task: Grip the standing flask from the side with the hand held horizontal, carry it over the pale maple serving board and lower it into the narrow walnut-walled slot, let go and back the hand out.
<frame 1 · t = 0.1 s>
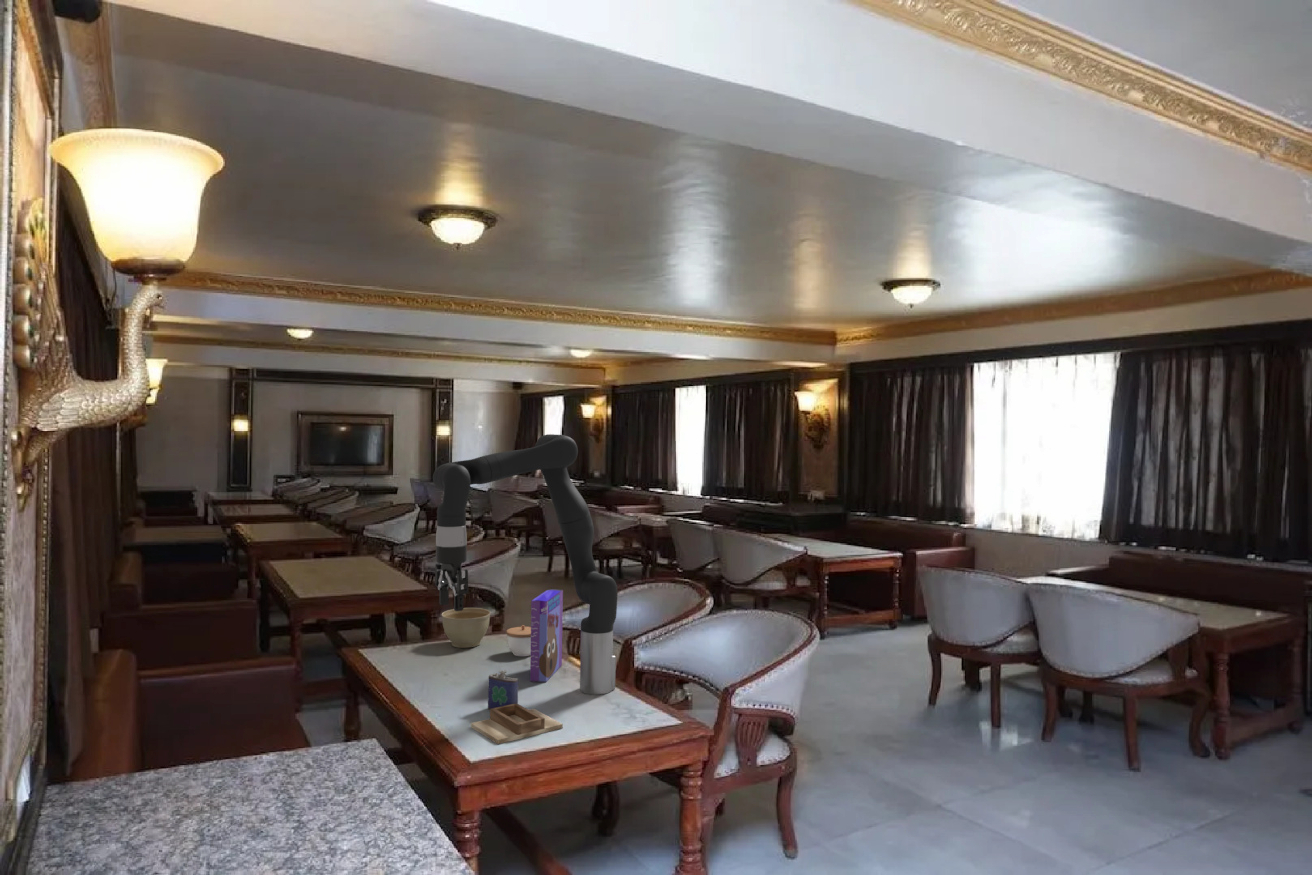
hand: (451, 607, 216), 29 cm above the table, tool pointing down, fingers open, 8 cm apart
cereal box: (546, 674, 260), on the table
slot board: (516, 727, 214), on the table
flask: (502, 711, 226), on the table
planter bowl: (465, 645, 291), on the table
lidded jar: (522, 654, 281), on the table
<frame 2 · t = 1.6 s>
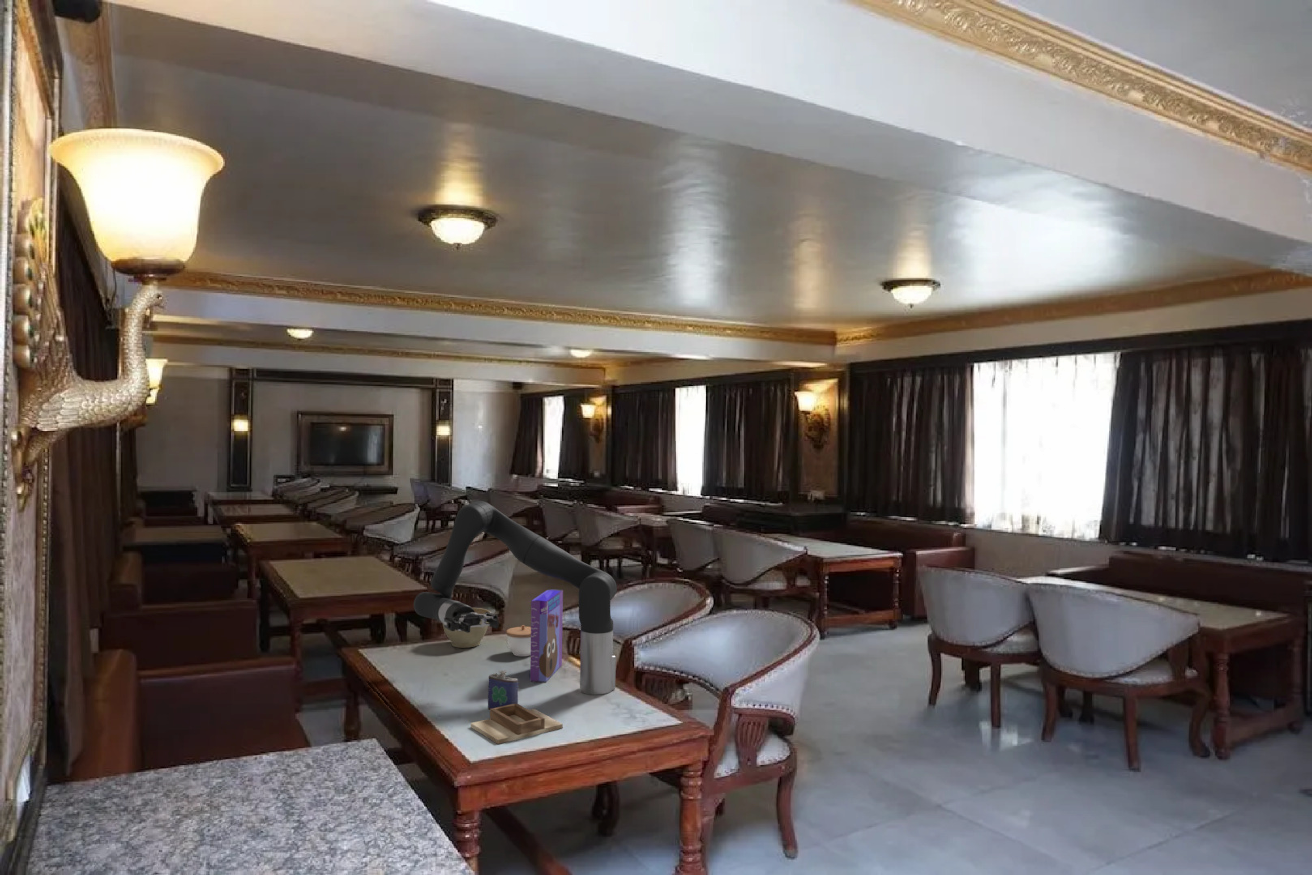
hand: (483, 626, 234), 20 cm above the table, tool horizontal, fingers open, 8 cm apart
nothing on the table moved.
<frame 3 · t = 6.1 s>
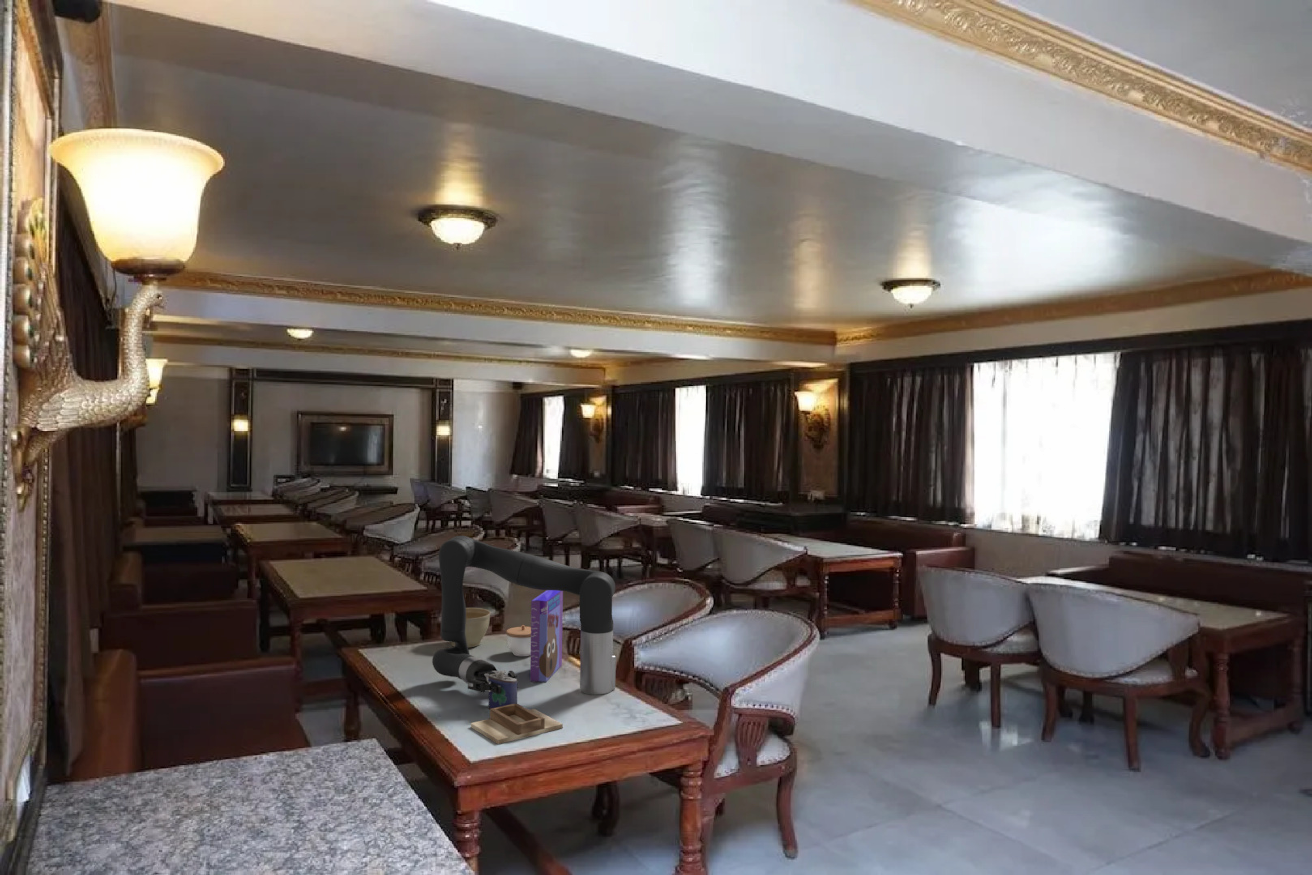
hand: (508, 688, 223), 7 cm above the table, tool horizontal, fingers closed on flask, 4 cm apart
flask: (502, 711, 226), on the table, touching gripper
everything else where it was.
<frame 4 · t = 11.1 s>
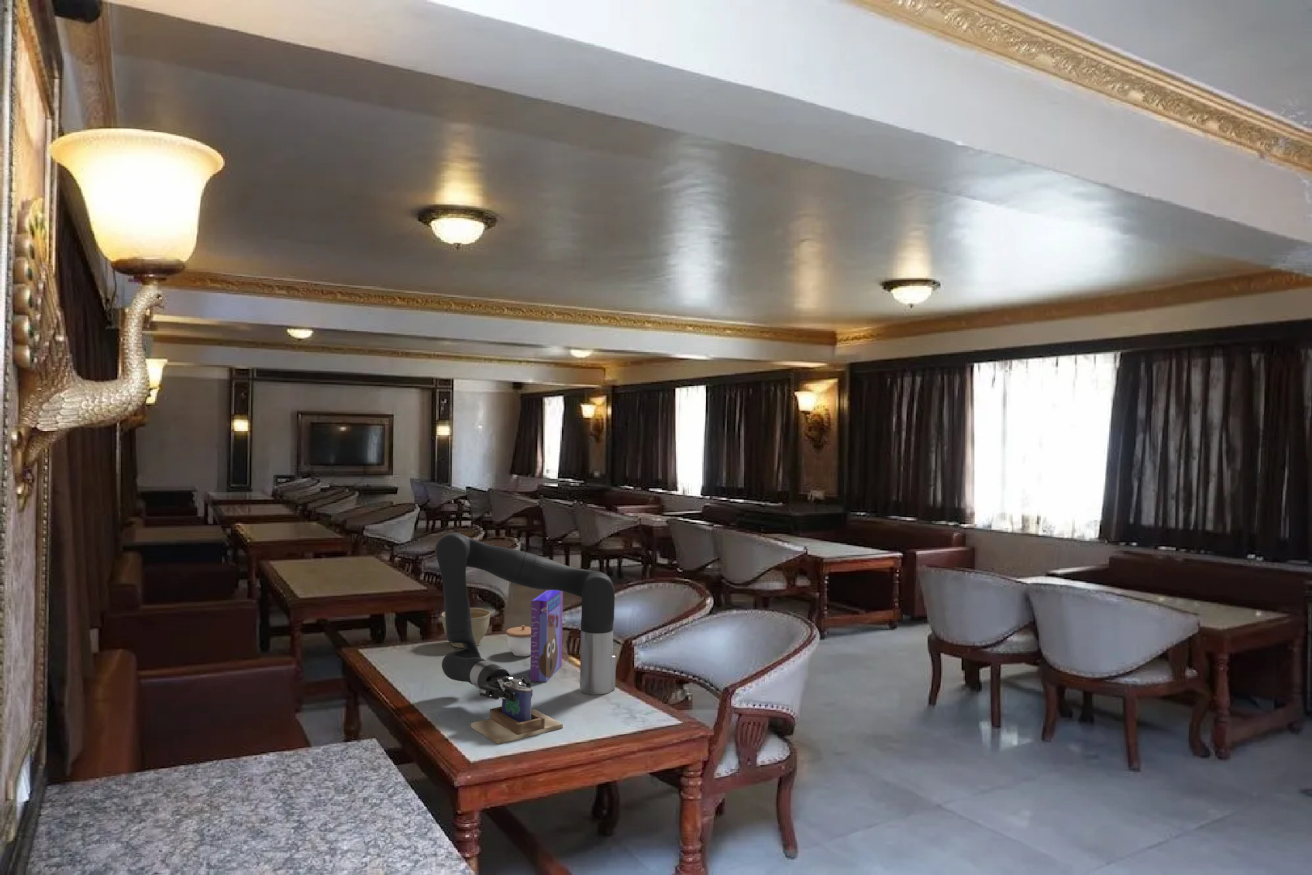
hand: (522, 695, 211), 9 cm above the table, tool horizontal, fingers closed on flask, 4 cm apart
flask: (515, 722, 213), point 1 cm above the table, touching gripper
everything else where it was.
when the fingers open (9 cm above the table, at t = 11.3 s): flask stays where it is, resting on slot board.
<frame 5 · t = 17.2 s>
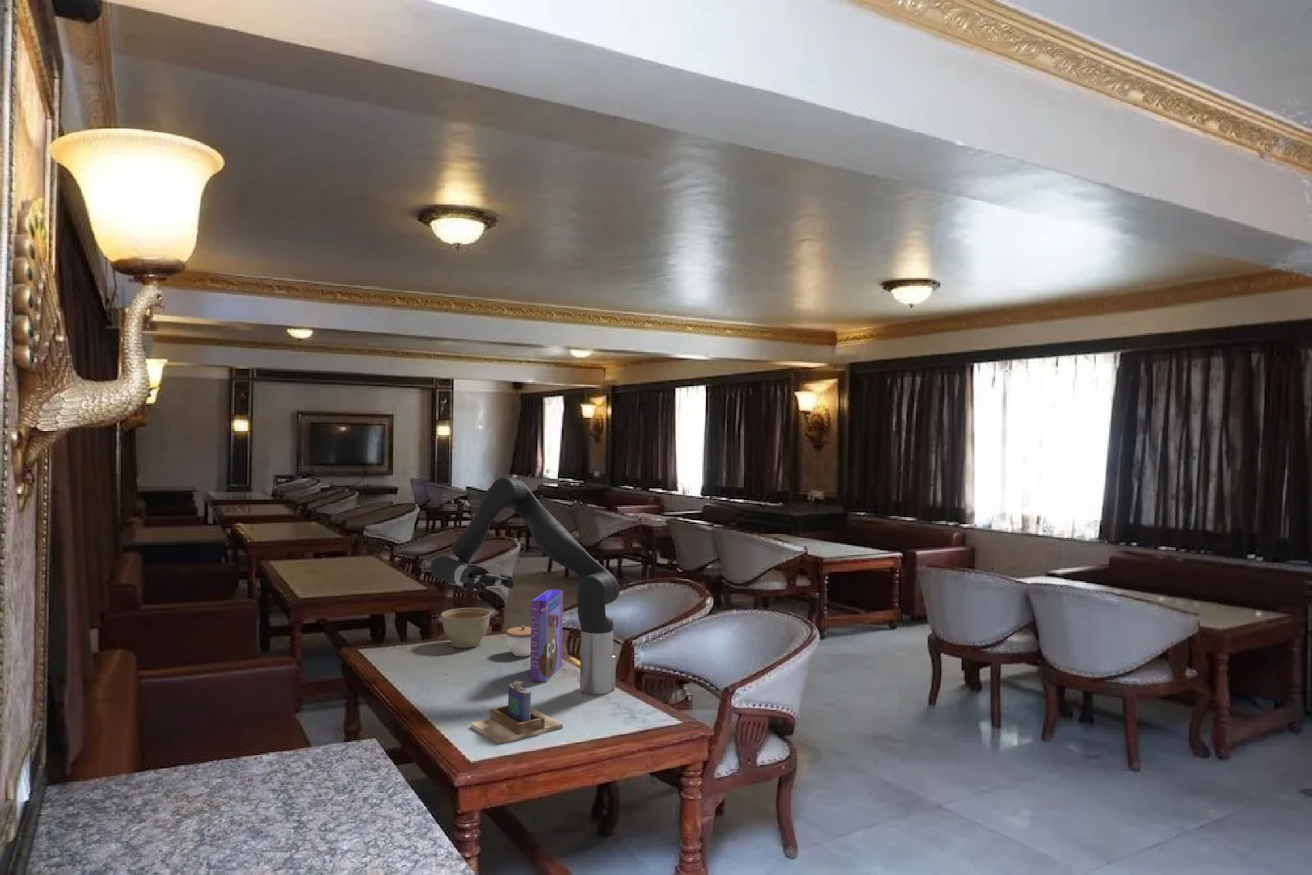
hand: (498, 586, 240), 30 cm above the table, tool horizontal, fingers open, 8 cm apart
flask: (518, 724, 214), point 1 cm above the table, touching slot board
everything else where it was.
at the end: flask inside the target area on the slot board (0.4 cm from its centre), point 0.8 cm above the slot board's base; flask tilted 0°; the gripper is holding nothing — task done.
